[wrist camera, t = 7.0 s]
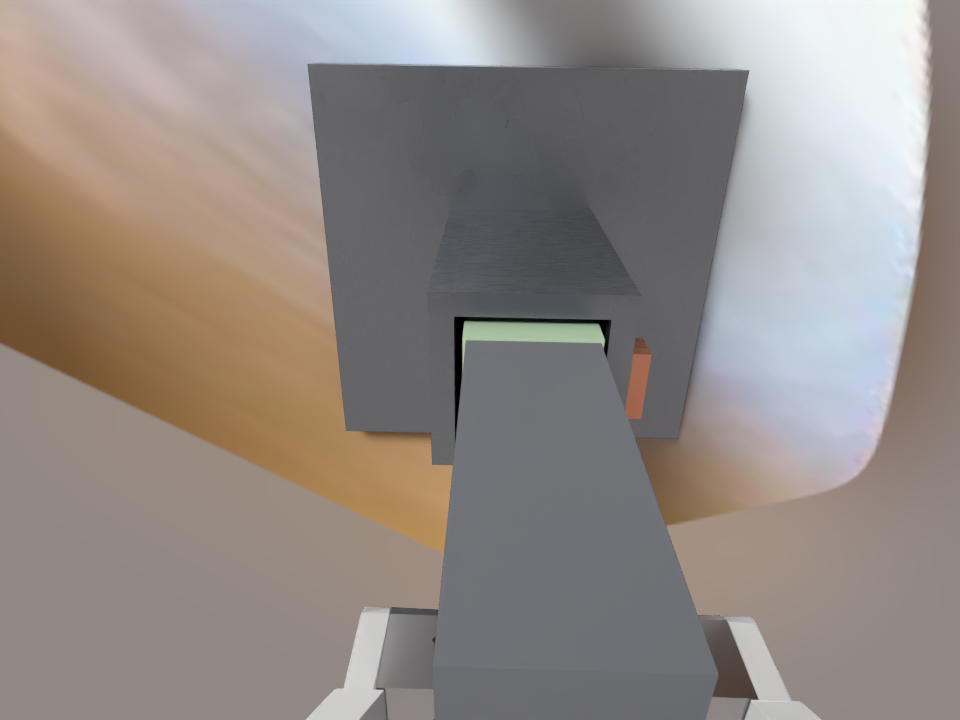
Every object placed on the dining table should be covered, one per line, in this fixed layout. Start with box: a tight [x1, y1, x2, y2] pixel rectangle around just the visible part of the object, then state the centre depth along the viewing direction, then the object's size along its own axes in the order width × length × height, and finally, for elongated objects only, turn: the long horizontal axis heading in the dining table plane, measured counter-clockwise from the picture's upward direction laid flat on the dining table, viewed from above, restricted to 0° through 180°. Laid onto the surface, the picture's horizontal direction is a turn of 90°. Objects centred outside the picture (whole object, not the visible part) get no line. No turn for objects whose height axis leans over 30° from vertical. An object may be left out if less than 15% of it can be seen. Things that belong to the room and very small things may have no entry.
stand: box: [308, 63, 749, 465], centre depth 25 cm, size 18×18×12 cm
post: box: [433, 317, 719, 720], centre depth 17 cm, size 4×4×16 cm
